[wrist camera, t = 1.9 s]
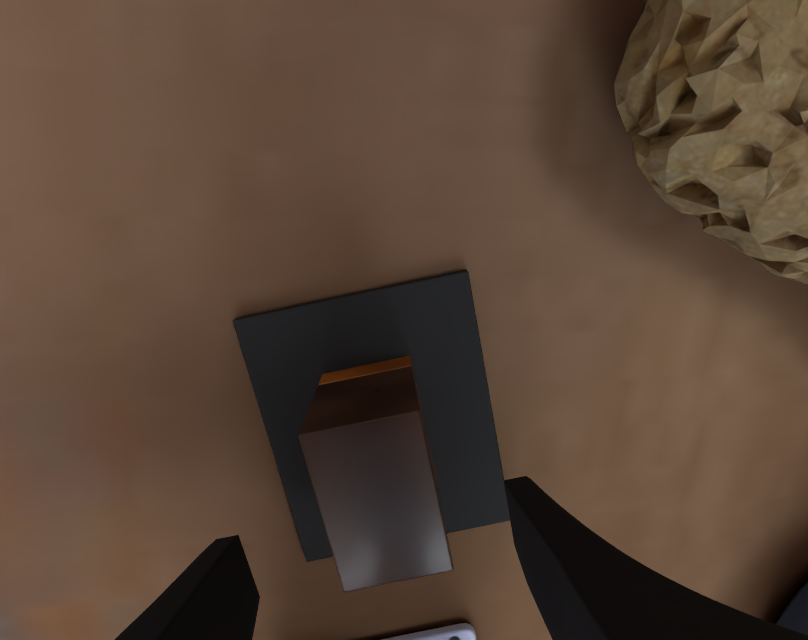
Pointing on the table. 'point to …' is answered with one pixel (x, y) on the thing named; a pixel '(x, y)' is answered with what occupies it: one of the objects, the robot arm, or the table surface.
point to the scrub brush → (375, 475)
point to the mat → (370, 343)
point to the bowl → (796, 612)
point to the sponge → (725, 119)
